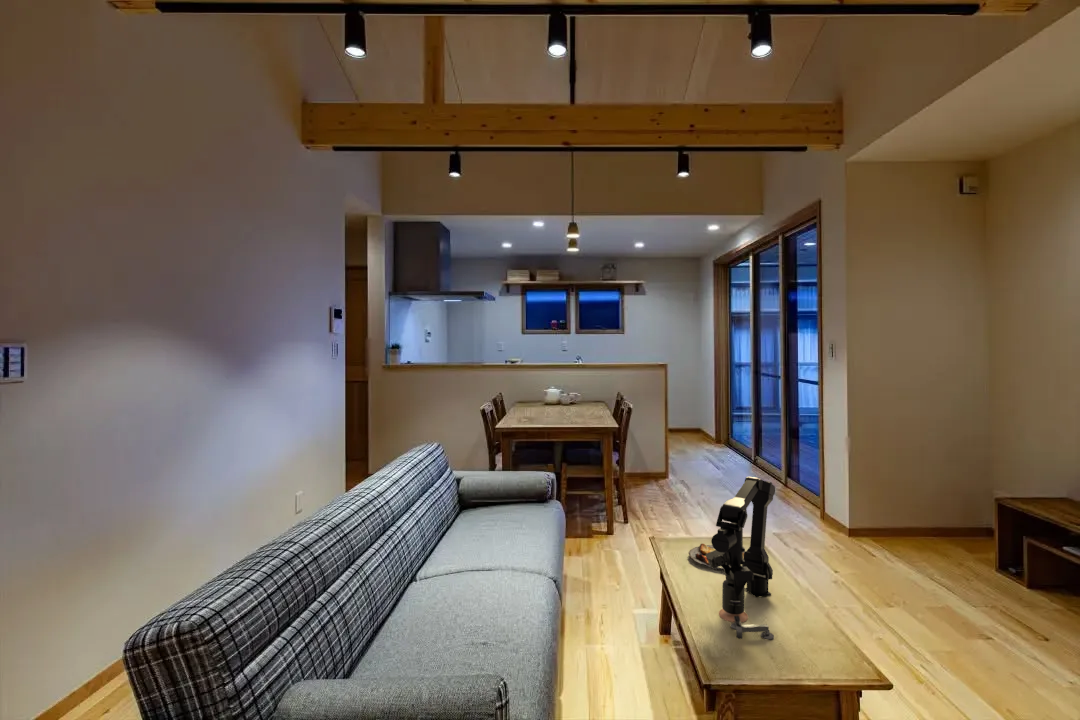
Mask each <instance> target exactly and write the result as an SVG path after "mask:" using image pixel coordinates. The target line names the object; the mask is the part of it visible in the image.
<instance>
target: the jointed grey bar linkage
mask: <svg viewBox="0 0 1080 720" xmlns="http://www.w3.org/2000/svg"><path fill="white" fill-rule="evenodd" d="M734 622H735V623H734ZM734 622H730V628H731V629H732V630H734V631H736V633H735V637H736V639H738V640H743V637H744V635H743V633H760V637H761V638H762V639H764V640H766V641H773V640H774V639H775V636H774V634H773V633H771V631H770V630H769V629H770V628H769V625H768V624H767V623H766V624H765V623H764V624H763V623H761V624H759V623H756V624H753V623H752V624H742V623H741V621H740V618H739V616H734Z"/></svg>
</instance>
